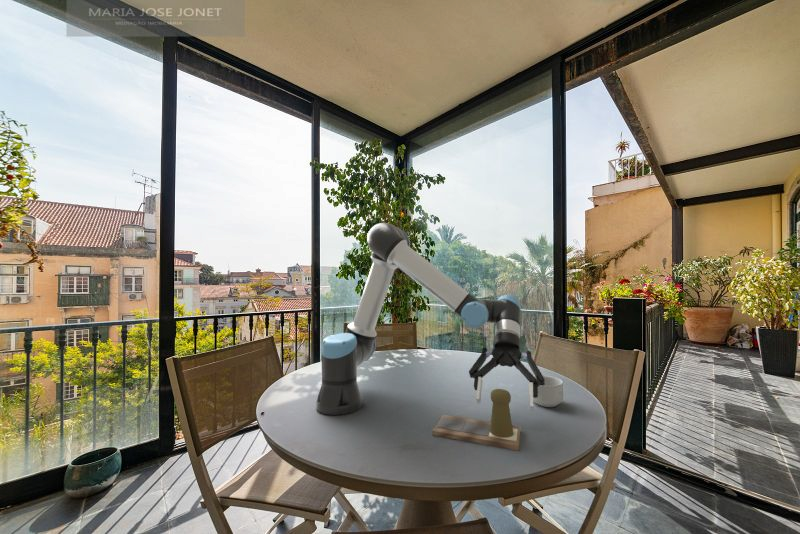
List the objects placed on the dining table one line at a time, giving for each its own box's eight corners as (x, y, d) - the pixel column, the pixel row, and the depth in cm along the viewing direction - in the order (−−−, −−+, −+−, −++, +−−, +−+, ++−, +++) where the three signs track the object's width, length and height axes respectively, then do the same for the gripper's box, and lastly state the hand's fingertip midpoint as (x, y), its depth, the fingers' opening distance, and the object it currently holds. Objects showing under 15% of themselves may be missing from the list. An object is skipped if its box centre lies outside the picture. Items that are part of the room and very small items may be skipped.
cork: (514, 429, 87) (513, 388, 87) (512, 439, 81) (511, 395, 82) (491, 425, 89) (490, 385, 90) (488, 434, 84) (487, 392, 84)
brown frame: (432, 435, 87) (432, 430, 87) (443, 418, 97) (443, 414, 97) (518, 450, 78) (518, 445, 78) (520, 430, 89) (520, 426, 89)
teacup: (568, 411, 101) (567, 385, 101) (531, 409, 103) (531, 384, 104) (555, 395, 115) (555, 373, 115) (524, 393, 117) (523, 371, 117)
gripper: (551, 347, 97) (555, 418, 82) (468, 342, 106) (459, 404, 92) (551, 333, 92) (556, 405, 78) (465, 328, 102) (455, 391, 87)
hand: (504, 404), depth 85 cm, fingers open, 13 cm apart
